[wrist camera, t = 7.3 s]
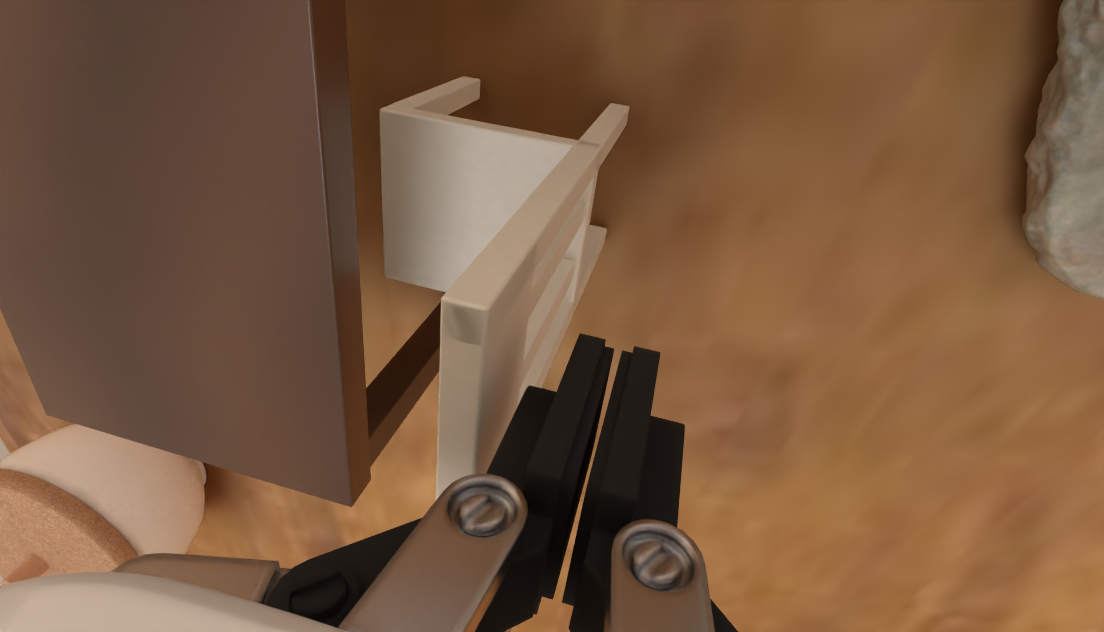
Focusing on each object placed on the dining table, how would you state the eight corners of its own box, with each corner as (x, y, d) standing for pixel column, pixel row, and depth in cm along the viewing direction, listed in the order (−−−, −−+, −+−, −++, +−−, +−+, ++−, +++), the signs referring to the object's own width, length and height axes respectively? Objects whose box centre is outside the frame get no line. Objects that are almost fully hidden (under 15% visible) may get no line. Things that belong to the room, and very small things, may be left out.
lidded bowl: (134, 359, 38) (-52, 480, 29) (271, 490, 42) (144, 636, 33) (60, 424, 44) (-115, 542, 35) (186, 534, 48) (57, 669, 38)
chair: (630, 106, 23) (488, 308, 9) (604, 244, 26) (468, 556, 12) (462, 75, 24) (98, 215, 10) (457, 212, 27) (173, 466, 13)
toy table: (513, -79, 21) (299, -138, 10) (483, 318, 30) (352, 508, 19) (219, -120, 23) (-225, -206, 12) (273, 267, 32) (45, 415, 21)
